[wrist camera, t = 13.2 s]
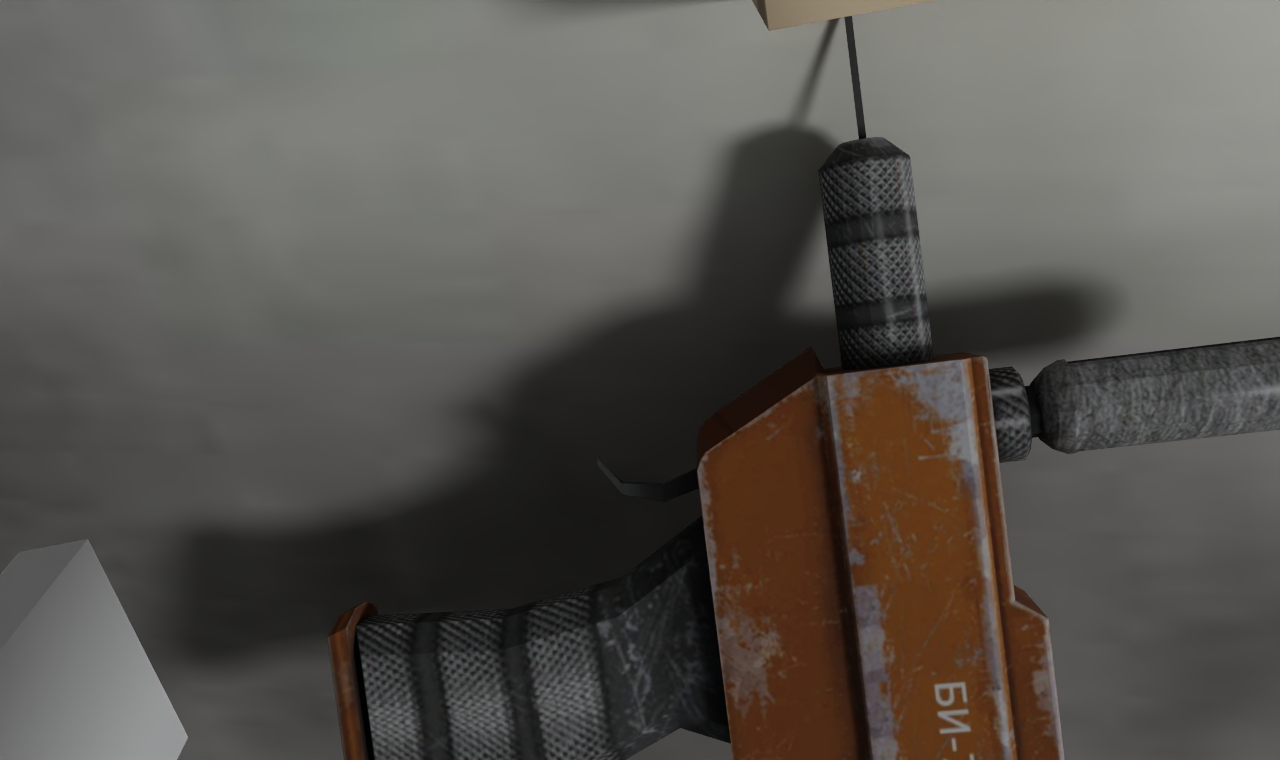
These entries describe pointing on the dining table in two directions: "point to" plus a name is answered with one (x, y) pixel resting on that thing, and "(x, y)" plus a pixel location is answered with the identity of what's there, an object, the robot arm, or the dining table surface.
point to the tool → (809, 548)
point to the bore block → (819, 10)
